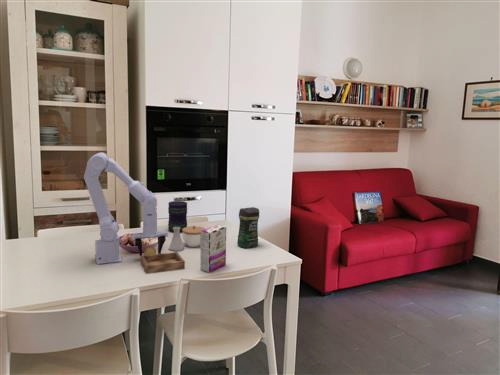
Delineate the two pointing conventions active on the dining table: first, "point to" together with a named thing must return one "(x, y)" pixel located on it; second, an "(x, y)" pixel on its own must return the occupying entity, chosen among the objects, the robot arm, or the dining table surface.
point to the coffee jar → (248, 227)
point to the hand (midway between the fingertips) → (150, 254)
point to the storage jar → (177, 215)
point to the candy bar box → (213, 248)
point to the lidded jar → (192, 235)
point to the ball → (149, 251)
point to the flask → (176, 241)
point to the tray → (162, 262)
